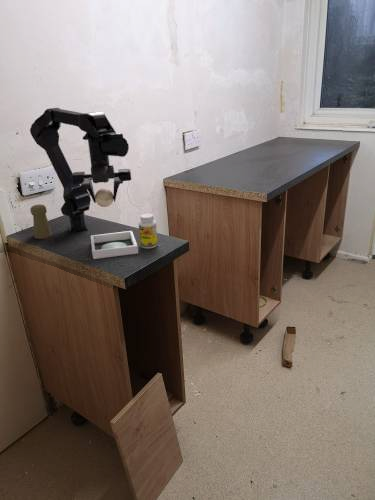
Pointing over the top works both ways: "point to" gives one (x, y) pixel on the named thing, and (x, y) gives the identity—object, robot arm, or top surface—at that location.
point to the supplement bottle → (148, 231)
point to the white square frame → (113, 245)
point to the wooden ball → (104, 197)
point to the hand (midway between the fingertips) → (104, 202)
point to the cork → (40, 222)
